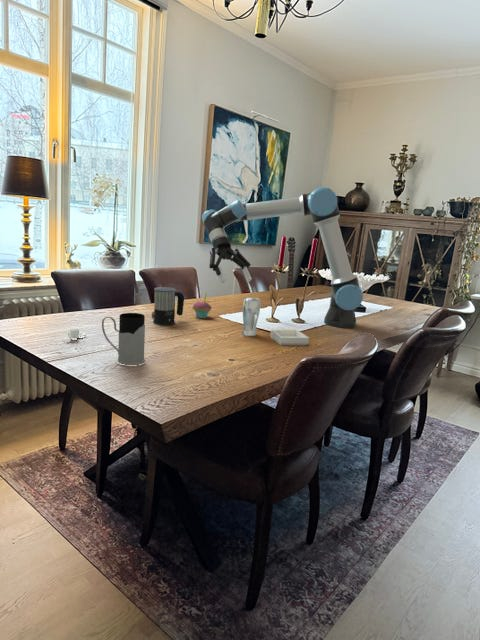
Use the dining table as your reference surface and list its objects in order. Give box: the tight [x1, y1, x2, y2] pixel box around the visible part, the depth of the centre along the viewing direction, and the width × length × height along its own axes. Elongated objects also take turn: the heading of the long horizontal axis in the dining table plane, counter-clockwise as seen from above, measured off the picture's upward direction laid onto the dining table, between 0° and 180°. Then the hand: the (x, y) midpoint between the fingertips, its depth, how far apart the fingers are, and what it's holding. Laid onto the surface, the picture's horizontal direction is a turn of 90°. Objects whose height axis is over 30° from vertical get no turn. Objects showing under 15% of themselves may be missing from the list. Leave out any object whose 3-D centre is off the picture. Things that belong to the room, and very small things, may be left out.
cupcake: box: [192, 292, 212, 319], centre depth 201 cm, size 9×8×12 cm
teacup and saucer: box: [67, 328, 87, 340], centre depth 153 cm, size 9×8×4 cm
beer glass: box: [241, 296, 261, 338], centre depth 177 cm, size 7×7×15 cm
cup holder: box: [269, 329, 310, 346], centre depth 174 cm, size 12×12×3 cm
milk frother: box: [151, 286, 185, 326], centre depth 188 cm, size 14×16×15 cm
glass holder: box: [101, 312, 146, 365], centre depth 135 cm, size 9×14×15 cm, turn 80°
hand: (237, 281), depth 182 cm, fingers open, 13 cm apart
